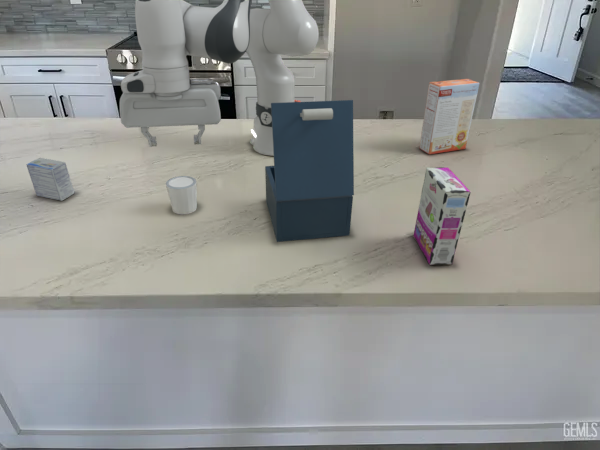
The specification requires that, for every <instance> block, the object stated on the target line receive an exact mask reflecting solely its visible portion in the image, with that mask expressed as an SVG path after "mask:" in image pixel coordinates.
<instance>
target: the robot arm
mask: <svg viewBox="0 0 600 450" xmlns="http://www.w3.org/2000/svg"><path fill="white" fill-rule="evenodd" d="M267 1H268V3H269V8H270V9H269V8H259V7H255V8H252V0H223V1H222V3H221V4H220V5H218V6H216V7H210V6H199V5H193V4H192V3H189V2H187V1H185V0H135V4H134V19H135V29H136V34H137V40H138V41H137V42H138V45H139V46H140V49H141V54H142V57H141V58H142V59H141V68H142V69H141V70H138V71H135V72H132V73H130V74H127V75H126V76H125V77H123V78H122V79H121V81H120V88H121V92H122V94H121V96H120V98H119V116H120V117H119V118H120V122H121V125H122V126H123V127H125V128H126V129H133V128H135V129H136V128H140V132H141V134H142V135H143V136H144V138H146V140H147V141H148V147H149V148H151V147H157V145H158V142H157V136H154V135H152V134H151V133H150V131H149V129H150V128H159V127H182V126H183V127H184V126H185V127H186V126H187V127H188V126H197V128H198V132H197V134H193V143H194V145H195V146H197V145H202V136H203V134H204V133H205V131H206V125H207V126H209V125H210V126H212V125H218V124H219V123H220V122H221V120H222V116H221V109H220V108H221V107H220V103H219V100H220V98H221V96H222V92H221V86H220V84H219V83H218V81H216V80H213V79H212V78H204V79H203V78H190V68H189V60H188V57H187V56H191V57H195V58H202V59H209V60H213V61H217V62H221V63H225V64H230V65H231V64H233V63H236V62H237V61H238V60H239V59H241V58H242V57H243V56H244V55H245V53H246V54H247V56H248V58H249V60H250V63H251V66H252V68H253V72H254V76H255V84H256V85H255V86H256V100H257V101H256V102H255V116H256V117H254V118H253V129H250V131H251V134H252V138H251V139H250V141H249V143H250V144H251V146H252V147H253V150H254V151H255V152H257V153H258V154H260V155H265V156H271V157H274V153H273V134H272V115H271V103H286V102H301V100H297V99H296V98H295V97H296V96H295V95H296V79H295V75H294V73H293V71H291V69H290V68H289V67H288V66H286V64H285V62H284V61H283V59H282V56H288V57H302V56H308V55H310V54H311V53H312V52H313V51H314V50H315V49H316V47H317V44H318V43H319V37H320V31H319V26H318V24H317V22H316V20H315V18H313V17H312V15H311V14H310V13H309V11H308V10H307V8H306V7H305V4H304V1H303V0H267Z"/></svg>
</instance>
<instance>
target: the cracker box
mask: <svg viewBox="0 0 600 450" xmlns="http://www.w3.org/2000/svg"><path fill="white" fill-rule="evenodd" d="M479 87H480V82H479V81H475V80H473V79H471V78H462V79H461V78H460V79H451V80H441V81H440V80H439V81H430V82H429V83H428V89H427V95H426V101H425V109H424V115H423V121H422V127H421V135H420V139H419V149H420V150H421V151H423V152H424V153H425V154H427V155H436V154H442V153H447V152H448V153H449V152H455V151H461V150H466V148H467V144H468V139H469V135H470V129H471V125H472V121H473V115H474V112H475V107H476V101H477V98H478V97H477V96H478V92H479Z"/></svg>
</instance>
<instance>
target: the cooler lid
mask: <svg viewBox="0 0 600 450" xmlns="http://www.w3.org/2000/svg"><path fill="white" fill-rule="evenodd" d="M271 115H272V134H273V153H274V156H273V166H274V171H275V190H276V201H284V200H298V199H311V198H324V197H337V196H350V195H352V196H354V195H355V179H354V178H355V176H354V175H355V172H354V171H355V170H354V169H355V168H354V162H355V159H354V158H355V157H354V100H353V99H345V100H342V99H341V100H318V101H317V100H315V101H313V100H312V101H300V102H286V103H271Z"/></svg>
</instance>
